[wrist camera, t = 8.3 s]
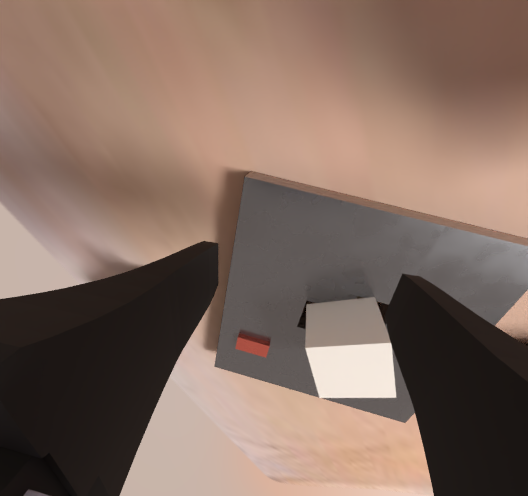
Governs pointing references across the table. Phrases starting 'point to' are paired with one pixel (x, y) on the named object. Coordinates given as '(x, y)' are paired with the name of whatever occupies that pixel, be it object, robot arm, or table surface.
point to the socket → (346, 275)
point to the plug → (349, 349)
